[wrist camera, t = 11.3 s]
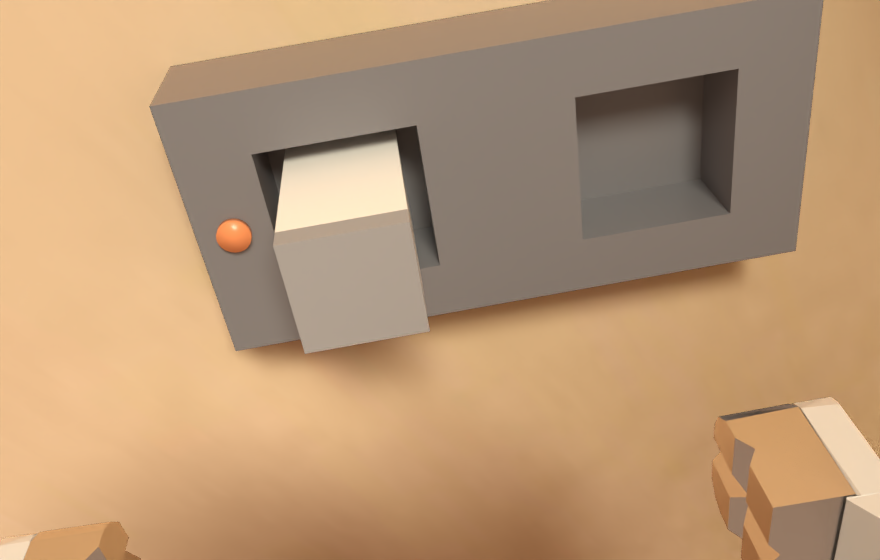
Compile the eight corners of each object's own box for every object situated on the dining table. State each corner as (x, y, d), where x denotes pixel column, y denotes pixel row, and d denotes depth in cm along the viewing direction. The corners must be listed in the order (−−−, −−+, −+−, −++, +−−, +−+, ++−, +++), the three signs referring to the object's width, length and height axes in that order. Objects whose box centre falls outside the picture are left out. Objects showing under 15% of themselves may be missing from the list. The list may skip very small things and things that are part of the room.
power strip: (769, -39, 30) (829, -10, 26) (751, 203, 35) (799, 254, 32) (170, 66, 30) (147, 109, 26) (245, 294, 35) (235, 355, 32)
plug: (393, 119, 31) (409, 221, 24) (410, 212, 33) (429, 331, 26) (286, 137, 31) (272, 246, 24) (311, 230, 33) (304, 353, 26)
